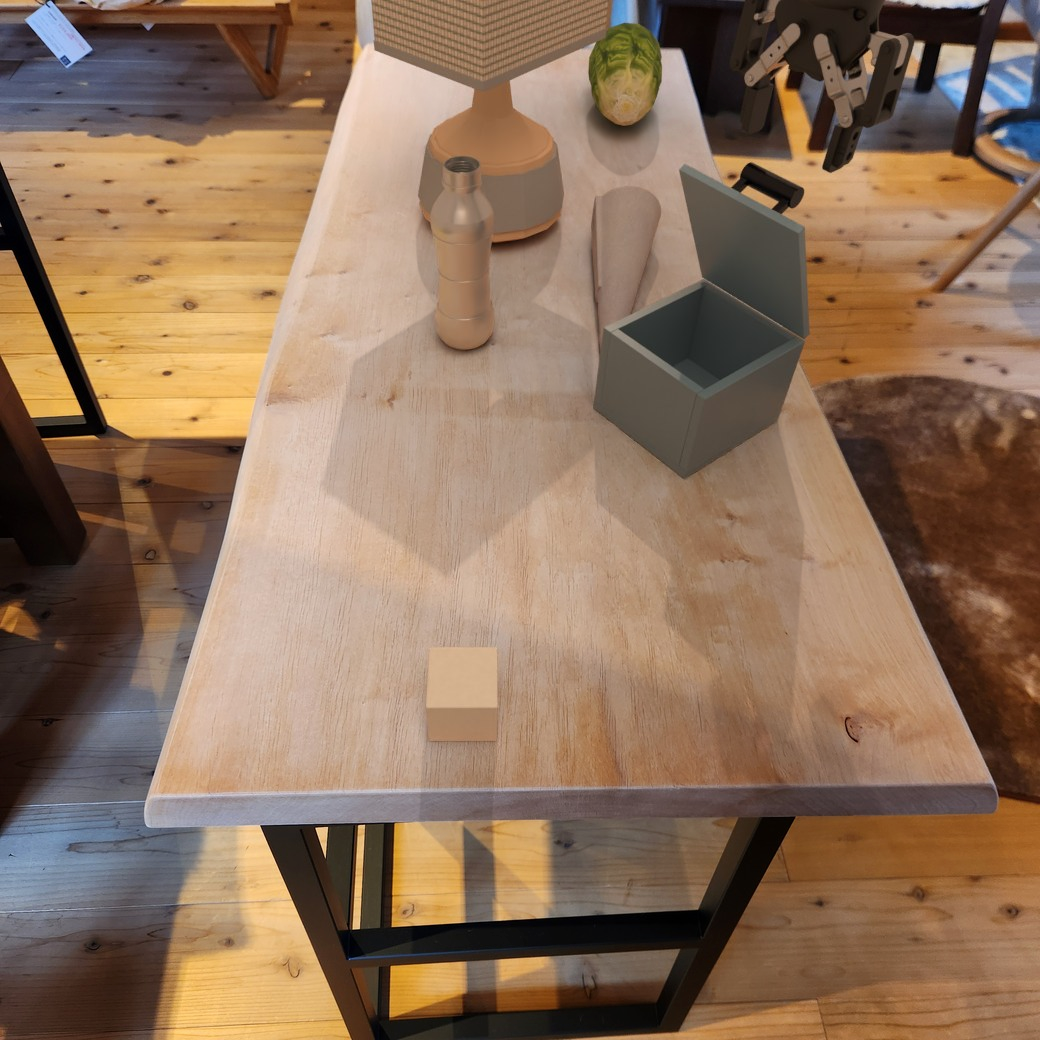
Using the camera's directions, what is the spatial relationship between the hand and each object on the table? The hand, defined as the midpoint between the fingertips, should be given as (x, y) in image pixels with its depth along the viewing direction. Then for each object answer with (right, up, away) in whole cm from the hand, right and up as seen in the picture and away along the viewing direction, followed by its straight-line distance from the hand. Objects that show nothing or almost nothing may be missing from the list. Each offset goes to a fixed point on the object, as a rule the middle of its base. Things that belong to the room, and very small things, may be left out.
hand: (790, 149), depth 71 cm
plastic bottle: (-29, -11, +24) cm, 39 cm away
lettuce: (-7, +33, +64) cm, 72 cm away
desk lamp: (-26, +9, +42) cm, 50 cm away
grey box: (-6, -20, +17) cm, 27 cm away
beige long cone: (-10, -5, +31) cm, 32 cm away
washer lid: (-2, -7, +5) cm, 10 cm away
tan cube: (-27, -45, -7) cm, 53 cm away
